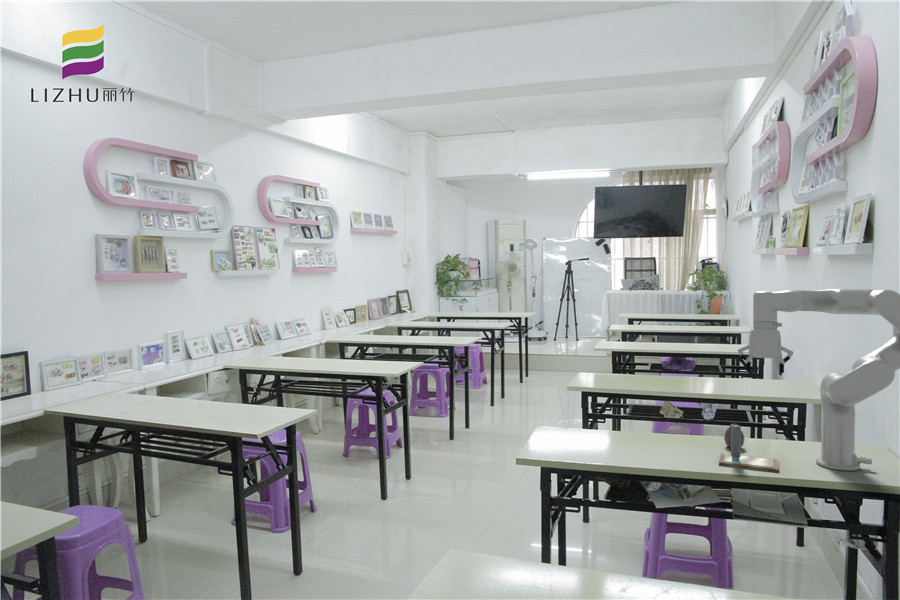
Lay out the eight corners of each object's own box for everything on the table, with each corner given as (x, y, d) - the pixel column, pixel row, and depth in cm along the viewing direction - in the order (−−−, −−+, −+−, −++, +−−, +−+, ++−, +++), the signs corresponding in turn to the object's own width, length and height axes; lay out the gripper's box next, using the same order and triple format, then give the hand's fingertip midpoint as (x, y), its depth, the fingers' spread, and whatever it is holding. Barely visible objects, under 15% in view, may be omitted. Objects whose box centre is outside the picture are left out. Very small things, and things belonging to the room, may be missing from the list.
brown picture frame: (777, 462, 202) (777, 459, 202) (778, 472, 191) (778, 468, 191) (720, 455, 210) (720, 452, 210) (718, 465, 200) (718, 461, 199)
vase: (740, 444, 224) (740, 422, 223) (747, 450, 217) (747, 426, 217) (721, 444, 224) (721, 422, 224) (728, 449, 218) (728, 426, 217)
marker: (740, 459, 201) (740, 425, 201) (740, 462, 199) (740, 427, 198) (730, 458, 203) (731, 424, 202) (730, 461, 200) (731, 426, 200)
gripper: (792, 325, 204) (792, 374, 205) (738, 324, 212) (737, 371, 213) (794, 327, 198) (793, 377, 198) (737, 326, 206) (737, 374, 206)
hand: (764, 374), depth 205 cm, fingers open, 9 cm apart
